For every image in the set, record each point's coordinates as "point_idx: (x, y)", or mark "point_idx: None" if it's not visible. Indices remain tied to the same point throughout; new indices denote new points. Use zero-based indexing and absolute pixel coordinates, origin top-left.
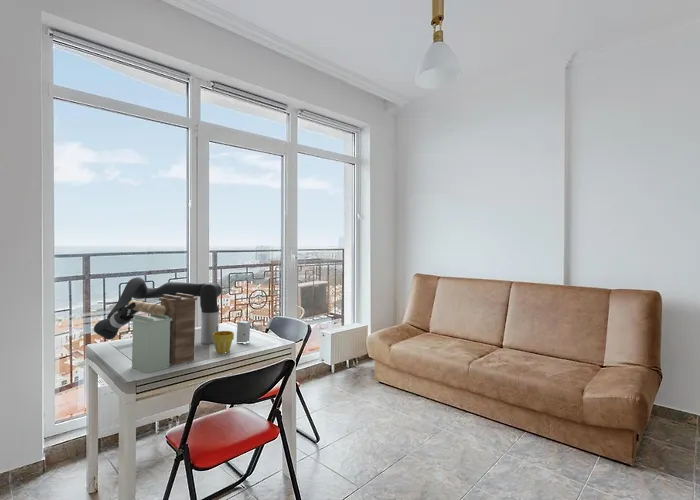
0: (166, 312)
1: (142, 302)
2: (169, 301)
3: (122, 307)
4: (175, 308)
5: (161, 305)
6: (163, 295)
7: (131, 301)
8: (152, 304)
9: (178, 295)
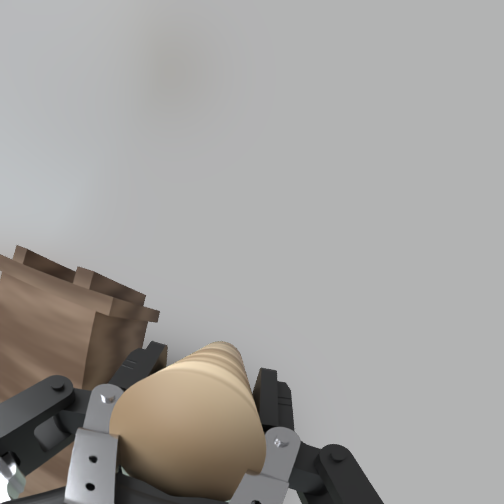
0: (108, 380)
1: (226, 354)
2: (147, 318)
3: (346, 462)
4: (140, 345)
5: (92, 349)
6: (96, 278)
7: (240, 390)
8: (229, 346)
9: (40, 267)
